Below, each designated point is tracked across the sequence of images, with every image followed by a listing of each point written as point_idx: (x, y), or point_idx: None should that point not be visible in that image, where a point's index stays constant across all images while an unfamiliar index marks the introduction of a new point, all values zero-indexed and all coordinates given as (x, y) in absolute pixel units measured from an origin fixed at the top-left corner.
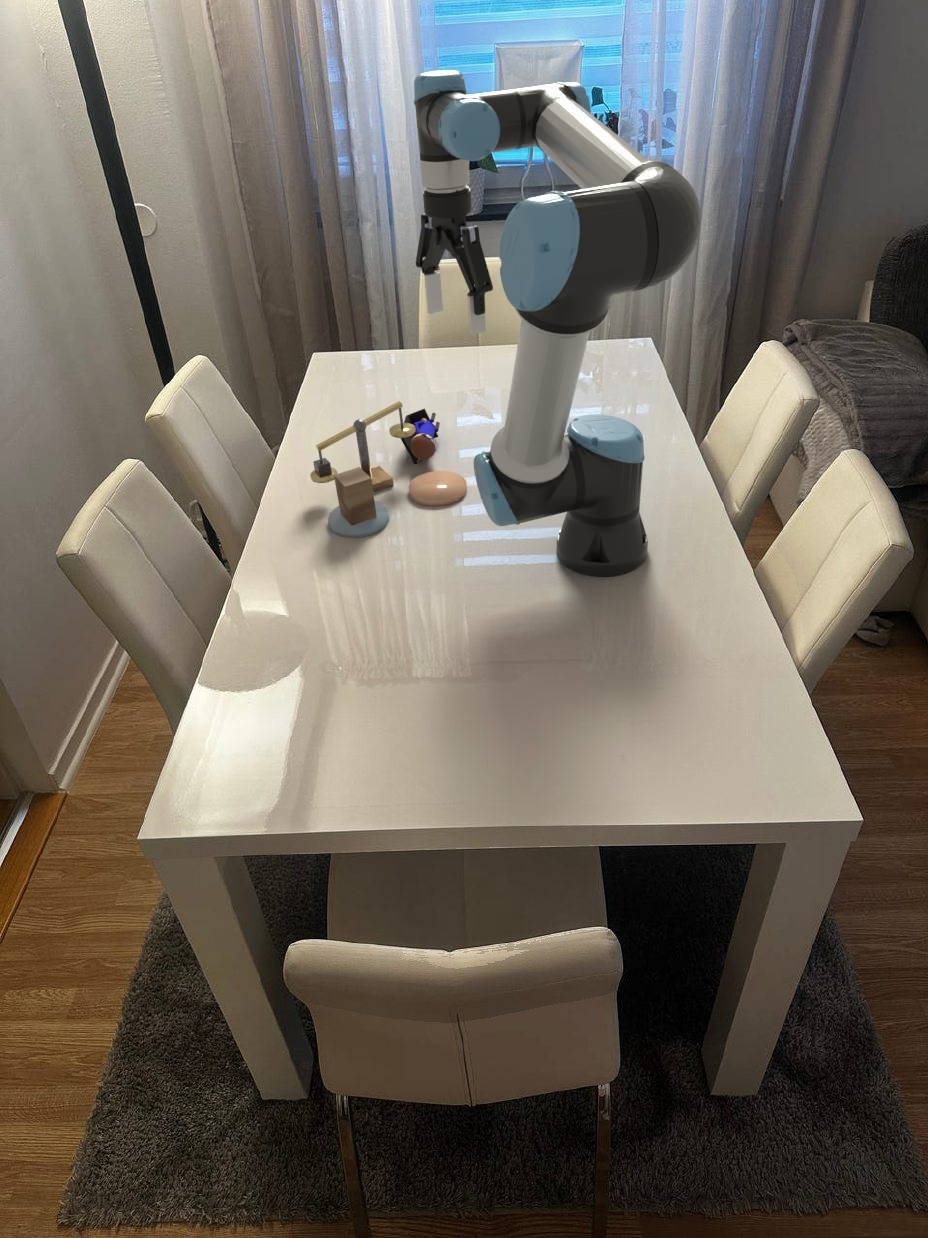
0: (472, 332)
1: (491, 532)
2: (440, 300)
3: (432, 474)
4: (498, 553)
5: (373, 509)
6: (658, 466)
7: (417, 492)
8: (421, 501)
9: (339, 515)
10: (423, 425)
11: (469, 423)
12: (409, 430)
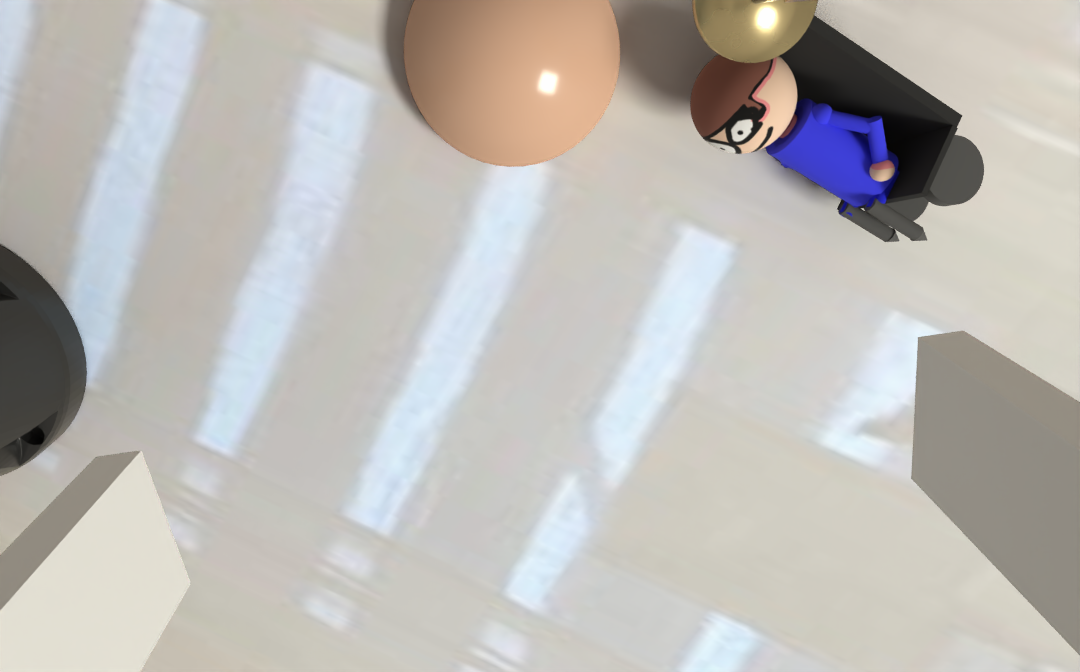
0: (87, 475)
1: (168, 105)
2: (970, 520)
3: (595, 73)
4: (33, 68)
5: None
6: (328, 667)
7: None
8: None
9: None
10: (854, 155)
11: (882, 353)
12: (722, 22)
